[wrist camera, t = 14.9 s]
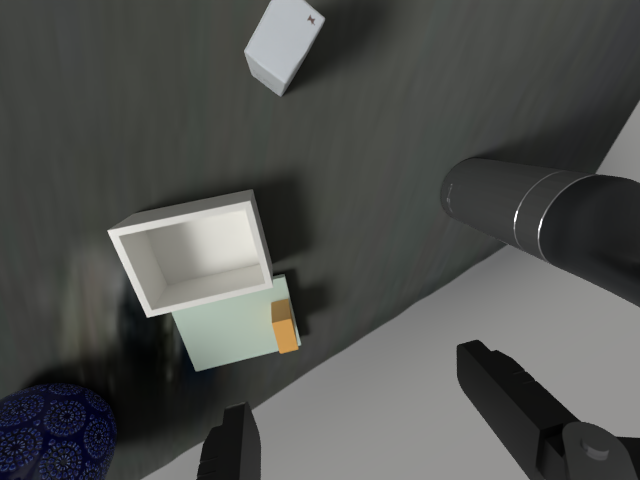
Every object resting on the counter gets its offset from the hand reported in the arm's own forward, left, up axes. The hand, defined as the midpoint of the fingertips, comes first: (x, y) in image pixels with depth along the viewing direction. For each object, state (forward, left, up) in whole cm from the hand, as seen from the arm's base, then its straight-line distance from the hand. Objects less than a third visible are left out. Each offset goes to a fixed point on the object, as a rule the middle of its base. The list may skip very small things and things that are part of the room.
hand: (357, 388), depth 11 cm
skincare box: (-2, -16, -32) cm, 36 cm away
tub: (+12, +3, -32) cm, 34 cm away
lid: (+11, +16, -32) cm, 38 cm away
